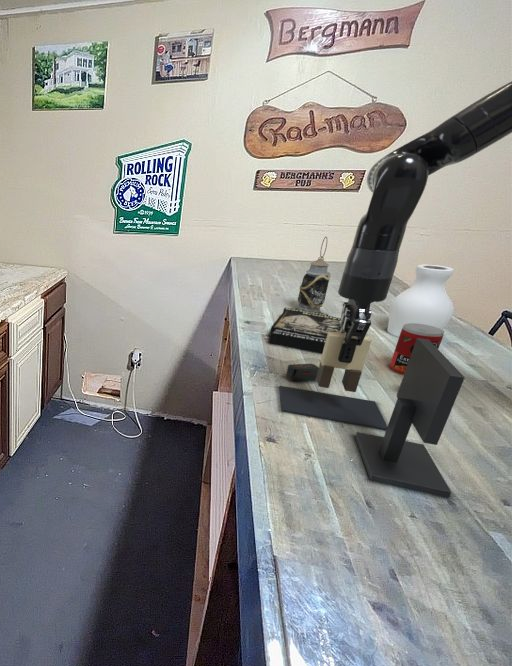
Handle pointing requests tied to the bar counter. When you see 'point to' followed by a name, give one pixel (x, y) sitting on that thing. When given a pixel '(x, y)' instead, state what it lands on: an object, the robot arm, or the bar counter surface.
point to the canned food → (412, 343)
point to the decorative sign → (303, 329)
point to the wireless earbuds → (302, 372)
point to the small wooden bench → (331, 362)
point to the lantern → (314, 285)
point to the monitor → (415, 424)
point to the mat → (331, 407)
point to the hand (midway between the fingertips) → (342, 358)
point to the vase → (423, 300)
